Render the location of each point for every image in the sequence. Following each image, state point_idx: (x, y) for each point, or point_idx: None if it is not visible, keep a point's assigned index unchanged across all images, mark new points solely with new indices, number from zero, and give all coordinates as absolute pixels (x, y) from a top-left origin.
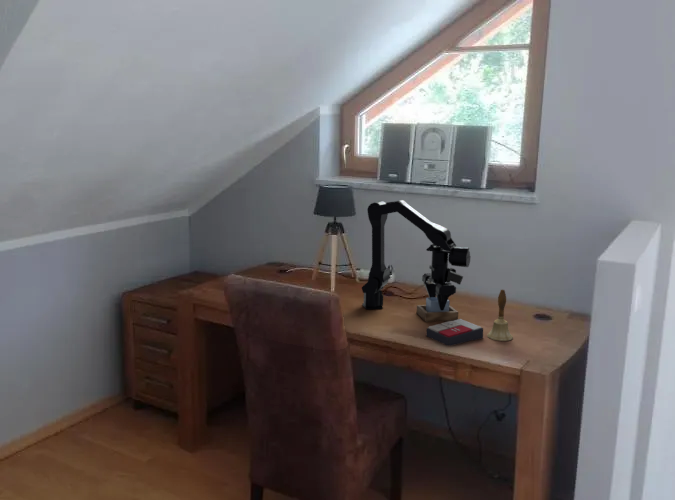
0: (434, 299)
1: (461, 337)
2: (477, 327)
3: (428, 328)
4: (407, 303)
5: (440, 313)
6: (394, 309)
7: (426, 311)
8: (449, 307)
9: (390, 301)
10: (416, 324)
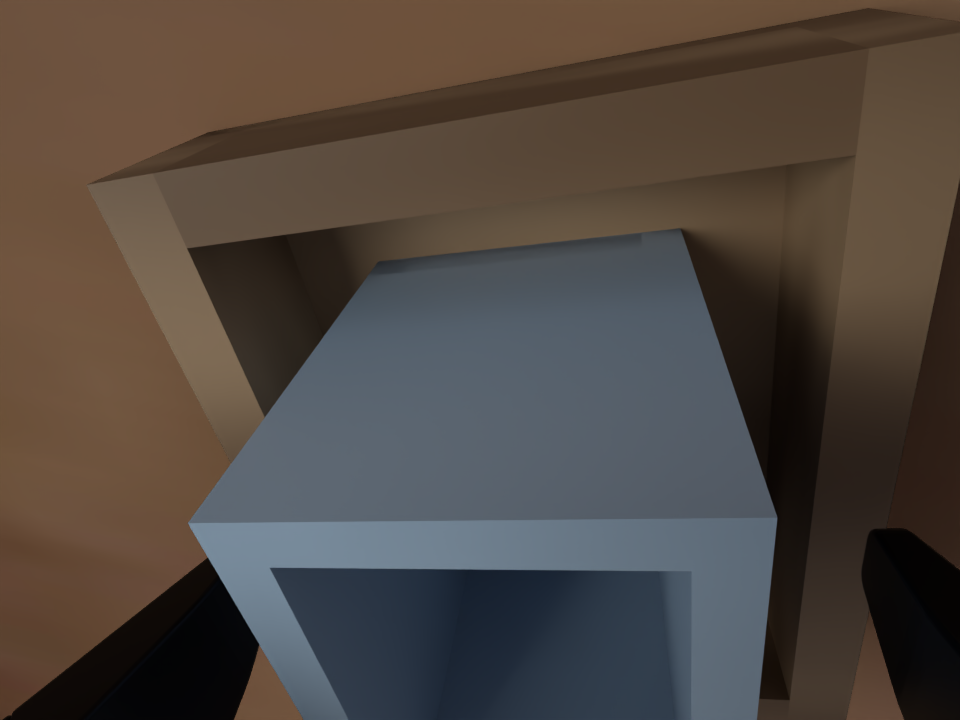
0: (385, 705)
1: None
2: None
3: None
4: (9, 577)
5: (878, 525)
6: (286, 716)
7: None
8: (401, 216)
9: (21, 679)
10: (886, 701)
